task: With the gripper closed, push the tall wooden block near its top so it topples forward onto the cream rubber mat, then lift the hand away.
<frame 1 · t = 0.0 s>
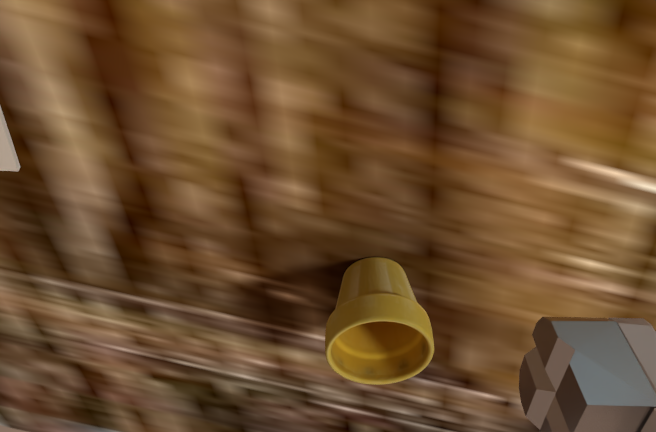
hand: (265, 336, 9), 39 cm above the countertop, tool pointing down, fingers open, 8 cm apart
plant pot: (372, 276, 66), on the countertop
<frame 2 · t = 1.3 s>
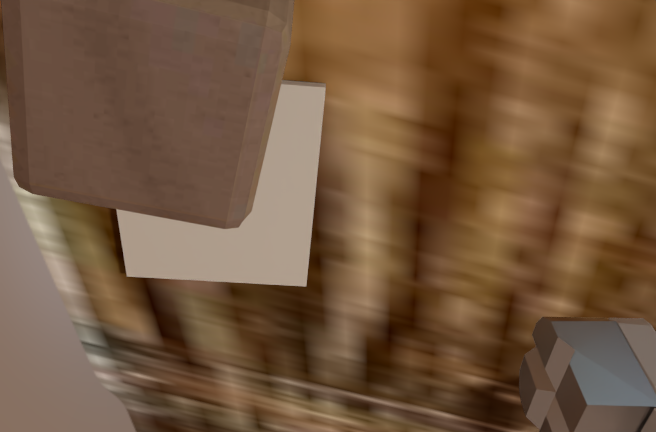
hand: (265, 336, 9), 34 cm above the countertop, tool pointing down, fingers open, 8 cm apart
mat: (215, 188, 50), on the countertop
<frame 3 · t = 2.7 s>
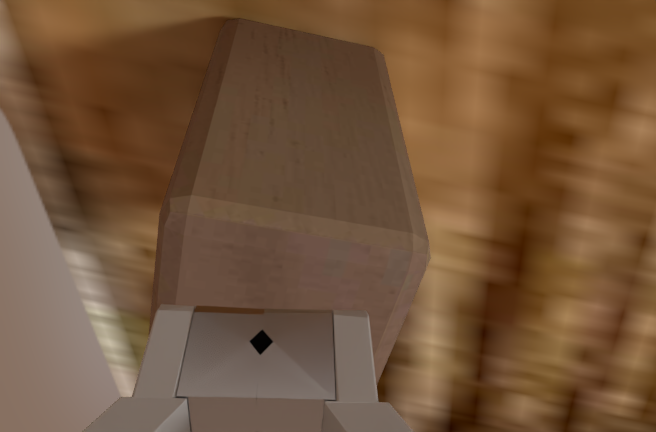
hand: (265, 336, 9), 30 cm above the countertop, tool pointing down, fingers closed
wooden block: (291, 100, 40), on the countertop
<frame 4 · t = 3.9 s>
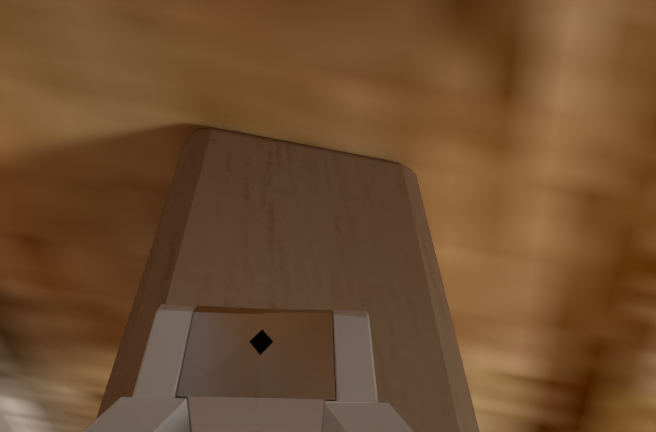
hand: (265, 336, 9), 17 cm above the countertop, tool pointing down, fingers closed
wooden block: (287, 225, 30), on the countertop
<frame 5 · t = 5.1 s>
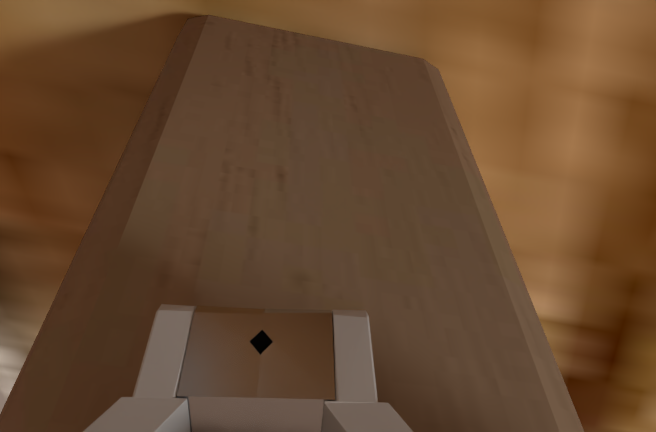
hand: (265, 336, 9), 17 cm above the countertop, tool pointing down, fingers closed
wooden block: (294, 138, 27), on the countertop, touching gripper
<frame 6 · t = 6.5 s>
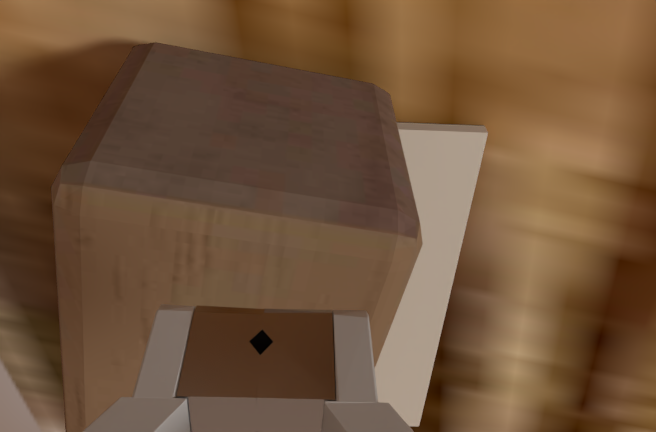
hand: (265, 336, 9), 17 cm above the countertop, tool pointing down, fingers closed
mat: (289, 295, 32), on the countertop
wooden block: (260, 109, 19), point 6 cm above the countertop, touching mat
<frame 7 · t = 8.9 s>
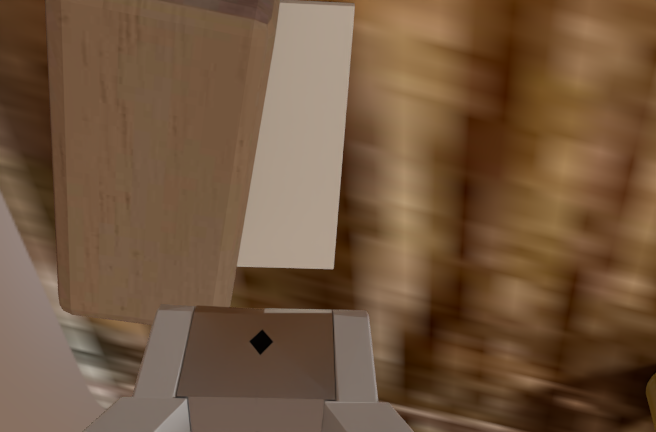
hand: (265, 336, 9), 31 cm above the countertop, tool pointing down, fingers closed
mat: (224, 146, 42), on the countertop
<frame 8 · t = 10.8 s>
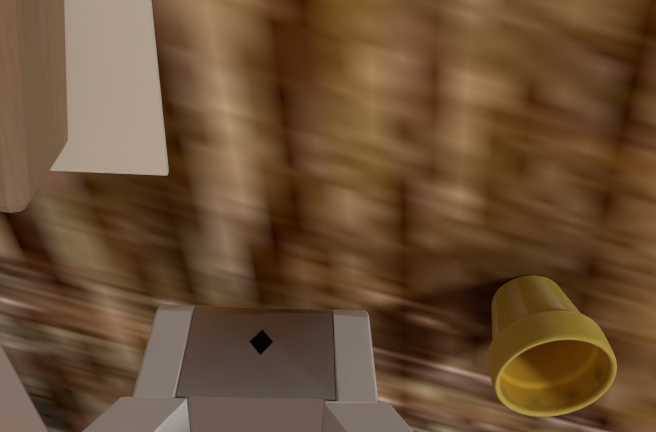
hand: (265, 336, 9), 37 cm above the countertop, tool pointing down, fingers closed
mat: (43, 48, 45), on the countertop
plant pot: (523, 298, 61), on the countertop
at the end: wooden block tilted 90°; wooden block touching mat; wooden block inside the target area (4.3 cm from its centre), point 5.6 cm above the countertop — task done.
